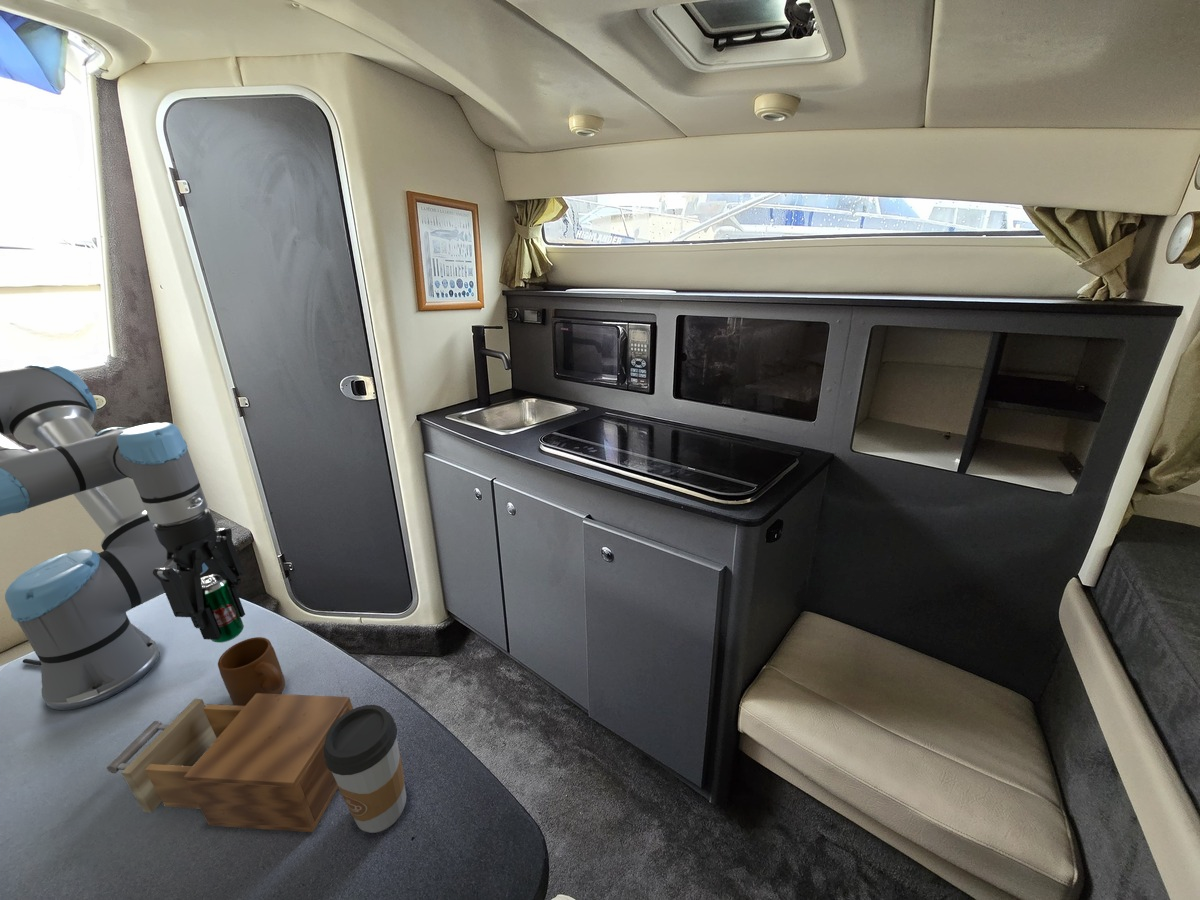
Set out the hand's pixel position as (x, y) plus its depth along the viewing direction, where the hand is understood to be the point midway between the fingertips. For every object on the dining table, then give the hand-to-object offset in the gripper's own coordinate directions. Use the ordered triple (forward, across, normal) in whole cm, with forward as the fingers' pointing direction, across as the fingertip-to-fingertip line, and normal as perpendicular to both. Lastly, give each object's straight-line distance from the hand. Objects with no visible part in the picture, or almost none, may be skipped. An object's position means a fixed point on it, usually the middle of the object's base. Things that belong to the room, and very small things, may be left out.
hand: (225, 626), depth 90 cm
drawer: (+6, -22, -13) cm, 27 cm away
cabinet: (+7, -22, -26) cm, 35 cm away
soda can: (+2, 0, 0) cm, 2 cm away
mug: (+7, -9, -13) cm, 17 cm away
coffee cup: (+7, -25, -41) cm, 49 cm away
